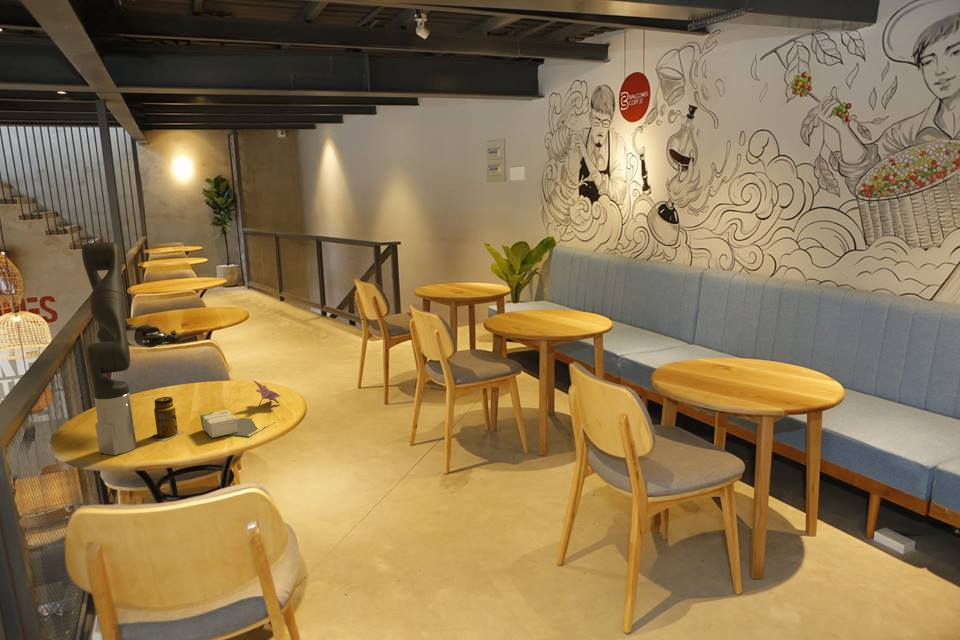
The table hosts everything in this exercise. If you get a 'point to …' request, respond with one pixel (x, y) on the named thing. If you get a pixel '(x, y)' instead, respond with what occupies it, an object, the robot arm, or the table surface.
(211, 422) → the ink box
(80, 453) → the table surface
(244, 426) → the mat
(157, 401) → the condiment
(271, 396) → the lily
